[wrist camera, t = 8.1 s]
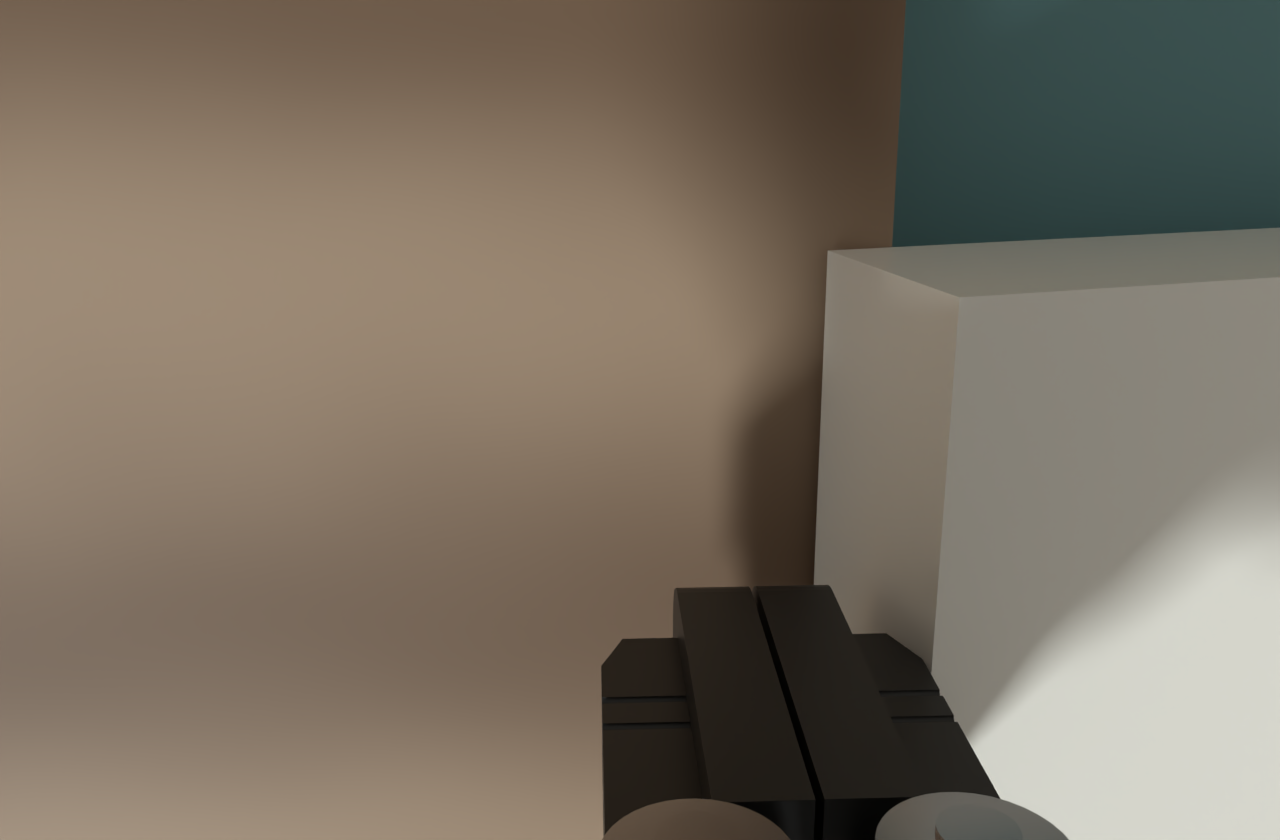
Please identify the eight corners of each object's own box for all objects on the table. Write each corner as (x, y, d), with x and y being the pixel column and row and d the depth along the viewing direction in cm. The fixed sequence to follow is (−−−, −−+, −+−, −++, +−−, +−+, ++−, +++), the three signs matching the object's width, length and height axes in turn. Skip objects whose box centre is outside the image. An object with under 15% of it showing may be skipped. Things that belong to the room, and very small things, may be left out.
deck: (-504, -498, 12) (-841, -669, 9) (862, -482, 13) (941, -638, 10) (-101, 1173, 19) (-227, 1376, 16) (794, 1137, 19) (831, 1328, 16)
